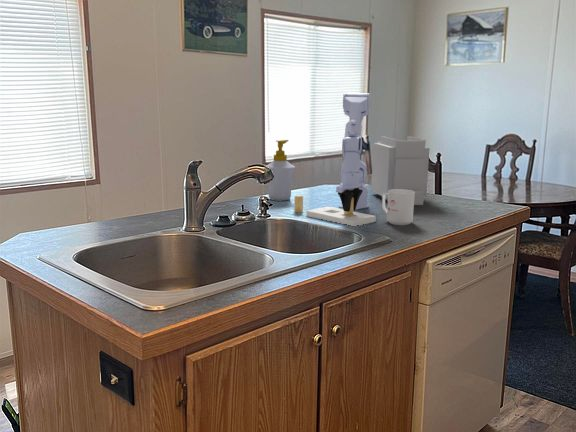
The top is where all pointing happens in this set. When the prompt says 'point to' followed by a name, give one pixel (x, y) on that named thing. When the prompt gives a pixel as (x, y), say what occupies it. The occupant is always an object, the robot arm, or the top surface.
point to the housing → (341, 216)
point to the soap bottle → (281, 175)
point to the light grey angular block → (400, 166)
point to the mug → (399, 206)
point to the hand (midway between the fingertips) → (349, 210)
